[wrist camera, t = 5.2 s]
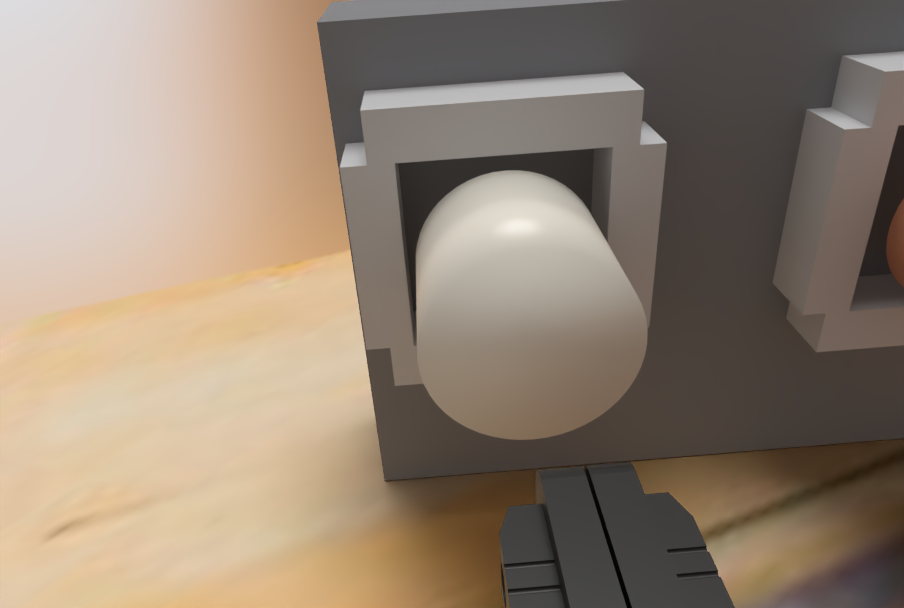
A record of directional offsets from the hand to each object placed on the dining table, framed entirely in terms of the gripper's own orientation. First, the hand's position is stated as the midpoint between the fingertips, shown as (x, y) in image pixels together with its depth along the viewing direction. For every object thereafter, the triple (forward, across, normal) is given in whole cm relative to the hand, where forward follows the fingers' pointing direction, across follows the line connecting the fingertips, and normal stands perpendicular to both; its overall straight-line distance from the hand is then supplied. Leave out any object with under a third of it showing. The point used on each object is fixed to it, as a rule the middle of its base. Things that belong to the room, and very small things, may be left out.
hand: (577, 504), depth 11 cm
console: (+13, -6, +10) cm, 18 cm away
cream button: (+7, 0, +2) cm, 7 cm away
